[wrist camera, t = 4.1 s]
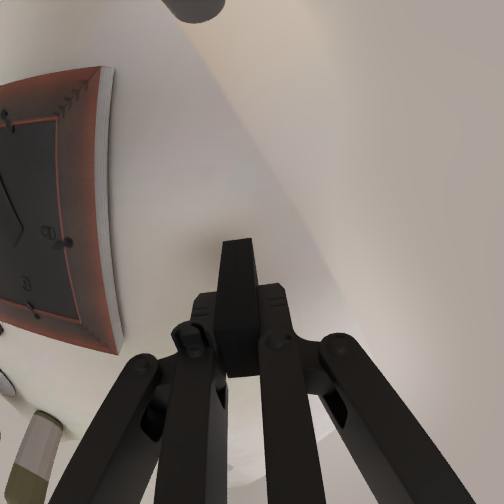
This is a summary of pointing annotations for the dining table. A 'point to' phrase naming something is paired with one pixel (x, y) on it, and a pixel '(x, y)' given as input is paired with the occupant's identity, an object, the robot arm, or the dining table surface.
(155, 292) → the dining table surface
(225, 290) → the robot arm
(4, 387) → the chalice
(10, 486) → the bottle
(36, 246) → the picture frame
